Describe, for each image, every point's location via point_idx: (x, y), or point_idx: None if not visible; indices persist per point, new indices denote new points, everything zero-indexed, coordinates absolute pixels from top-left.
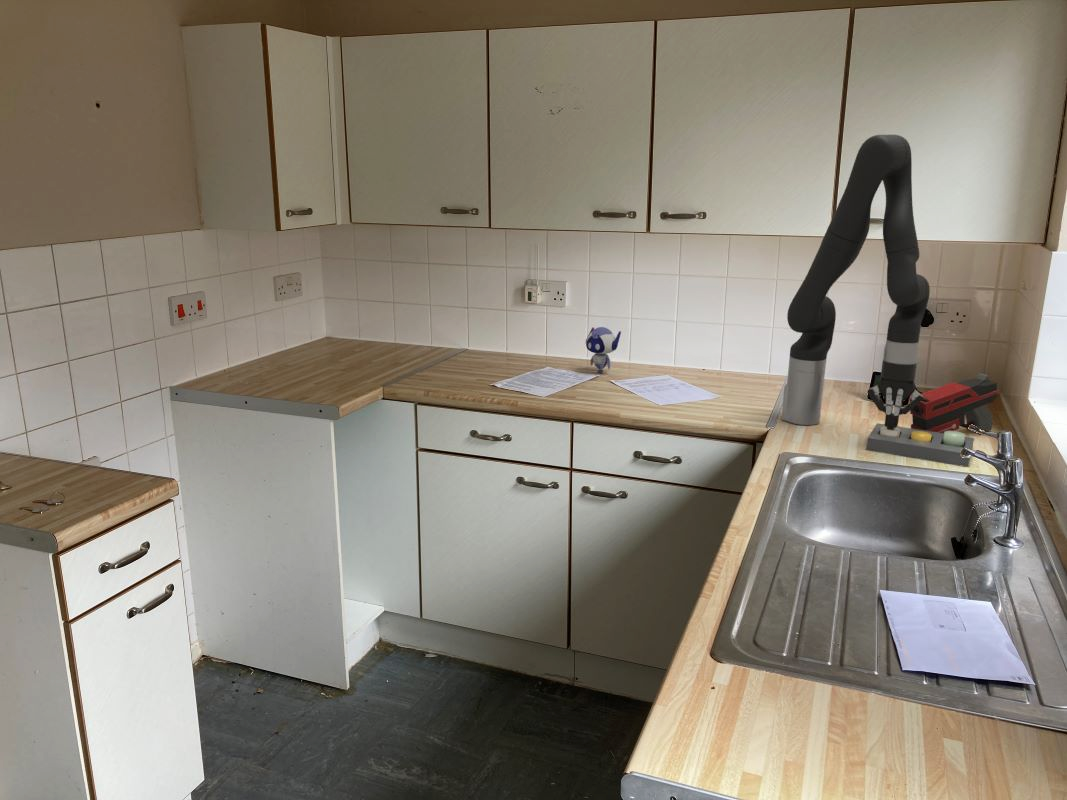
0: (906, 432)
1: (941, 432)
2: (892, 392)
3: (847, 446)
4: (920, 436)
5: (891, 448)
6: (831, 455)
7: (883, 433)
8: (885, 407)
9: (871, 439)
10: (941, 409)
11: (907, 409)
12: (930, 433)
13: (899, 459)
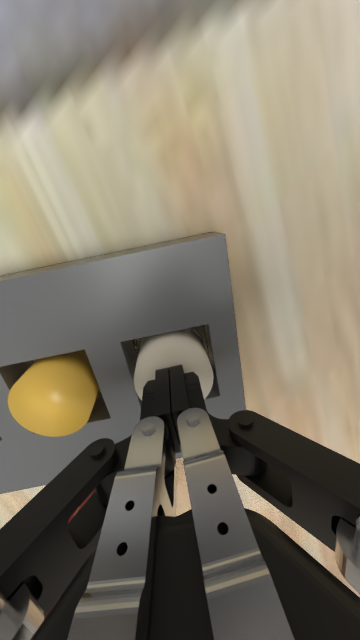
0: (128, 417)
1: (75, 511)
2: (209, 617)
3: (283, 220)
4: (34, 372)
5: (118, 253)
6: (316, 8)
7: (187, 340)
8: (223, 445)
9: (205, 237)
10: (49, 611)
11: (74, 475)
12: (62, 460)
13: (65, 203)
